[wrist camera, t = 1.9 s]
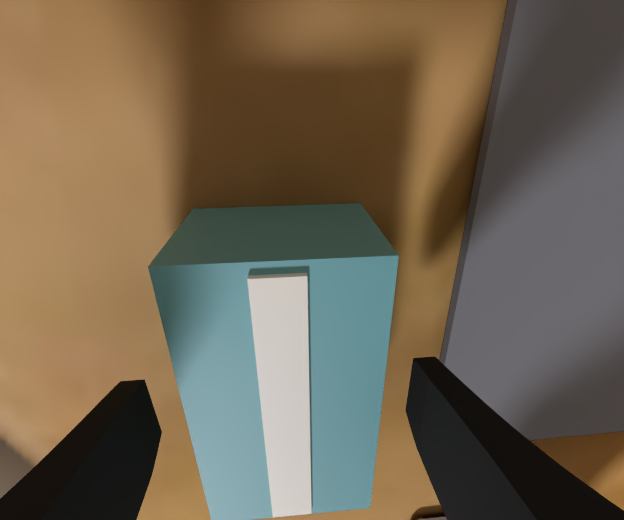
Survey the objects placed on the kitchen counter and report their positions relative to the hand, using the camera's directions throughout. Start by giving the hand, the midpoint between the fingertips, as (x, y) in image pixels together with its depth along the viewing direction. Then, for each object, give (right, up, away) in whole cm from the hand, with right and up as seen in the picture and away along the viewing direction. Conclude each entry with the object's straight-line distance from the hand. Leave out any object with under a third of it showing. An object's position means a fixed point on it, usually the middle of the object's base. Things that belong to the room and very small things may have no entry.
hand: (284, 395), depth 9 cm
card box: (0, +1, +3) cm, 3 cm away
